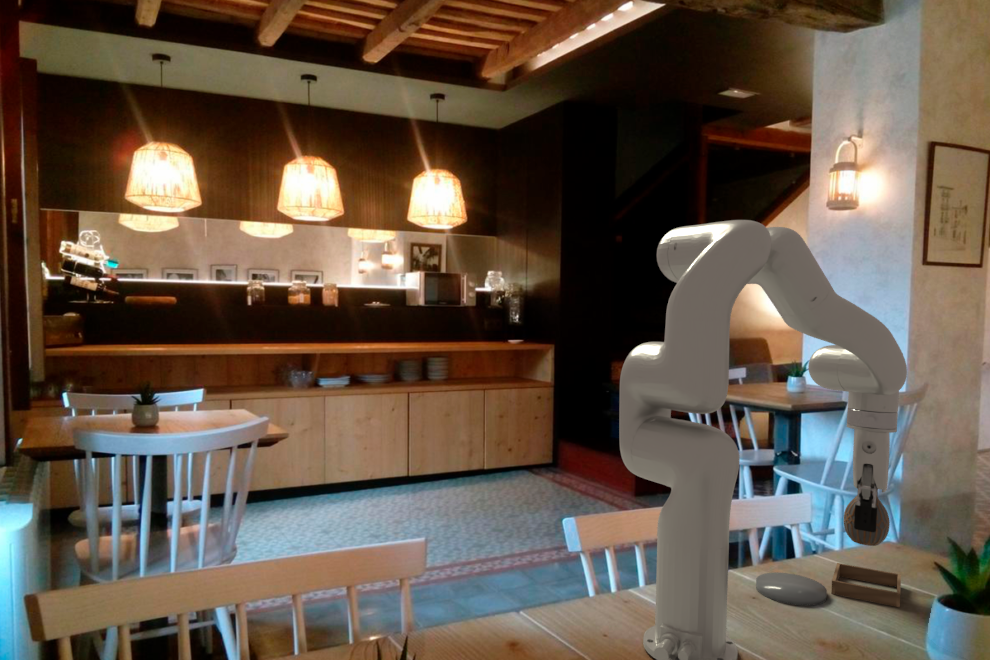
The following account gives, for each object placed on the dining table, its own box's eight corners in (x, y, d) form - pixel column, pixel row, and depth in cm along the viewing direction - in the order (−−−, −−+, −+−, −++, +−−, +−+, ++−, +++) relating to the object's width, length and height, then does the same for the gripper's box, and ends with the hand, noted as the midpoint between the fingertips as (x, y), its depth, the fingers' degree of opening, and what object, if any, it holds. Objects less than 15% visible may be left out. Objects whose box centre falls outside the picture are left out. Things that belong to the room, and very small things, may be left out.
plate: (822, 611, 111) (823, 603, 111) (750, 595, 117) (750, 588, 117) (829, 588, 121) (829, 581, 121) (762, 574, 126) (762, 568, 126)
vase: (894, 550, 115) (897, 497, 115) (849, 546, 117) (852, 493, 117) (880, 538, 122) (883, 488, 122) (837, 534, 123) (840, 484, 123)
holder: (899, 607, 113) (900, 594, 113) (831, 593, 118) (831, 580, 118) (900, 586, 122) (900, 574, 122) (836, 574, 127) (837, 562, 127)
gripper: (896, 428, 110) (890, 542, 110) (897, 418, 125) (892, 518, 125) (843, 423, 114) (837, 533, 114) (850, 413, 128) (845, 510, 129)
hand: (866, 524), depth 119 cm, fingers closed on vase, 6 cm apart
